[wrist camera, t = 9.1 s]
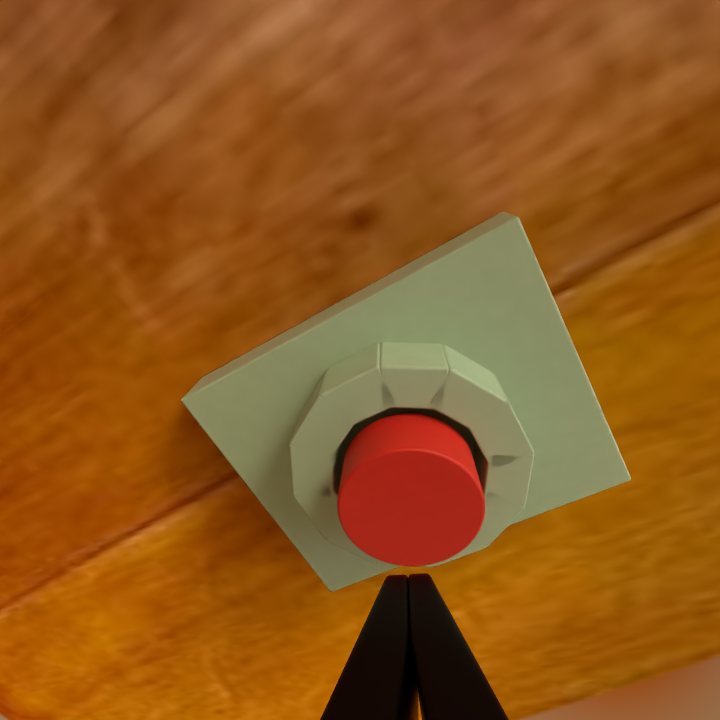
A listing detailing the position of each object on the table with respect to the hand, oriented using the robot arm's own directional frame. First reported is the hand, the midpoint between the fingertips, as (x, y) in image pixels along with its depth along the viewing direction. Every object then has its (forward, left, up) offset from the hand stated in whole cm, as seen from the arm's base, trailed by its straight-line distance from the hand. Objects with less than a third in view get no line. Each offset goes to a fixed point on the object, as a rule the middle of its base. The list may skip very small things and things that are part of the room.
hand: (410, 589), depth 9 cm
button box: (0, 0, -7) cm, 7 cm away
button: (0, 0, -4) cm, 4 cm away
